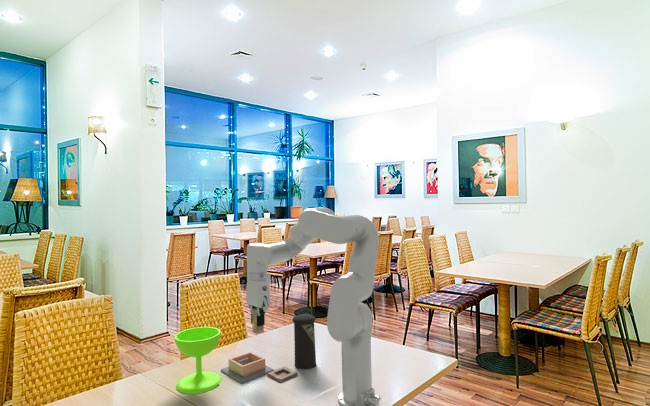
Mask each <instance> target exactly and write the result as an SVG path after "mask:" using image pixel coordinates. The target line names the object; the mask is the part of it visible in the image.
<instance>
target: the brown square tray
mask: <svg viewBox="0 0 650 406" xmlns="http://www.w3.org/2000/svg"><path fill="white" fill-rule="evenodd" d="M266 375H267V377H269V378H270V379H272V380H275V381H277V382H278V383H283V382H285V381H287V380H289V379H293V378H295V377H297V376H298V372H297V371H295V370H293V369H291V368H289V367H286V366H285V365H284V366H282V367H279V368H277V369H274V371H271V372H269V373H267V374H266Z"/></svg>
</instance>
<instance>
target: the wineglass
mask: <svg viewBox="0 0 650 406" xmlns="http://www.w3.org/2000/svg"><path fill="white" fill-rule="evenodd" d="M221 332H222V331H221V329H220V328H218V327H215V326H197V327H191V328H188V329H184V330H182V331H180V332H177V333H176V334H175V335H174V343H175V345H176V347H177V349H178V351H179V352H181V353H182V354H183V355H185V356H187V357H189V358H195V368H196V369H195V370H196V372H194V373H191V374H188V375H186V376H184V377H182V378H181V379H180V380H178V382H177V383H176V386H175V389H176V391H177V392H178V393H181V392H182V393H181V394H185V393H186V394H187V395H196V394H202V393H206V392H209V391H212V390H214V389H216V388H218V387H219V386H220V384H221V382H222V376H221V375H219V374H218V373H216V372H212V371H202V370H203V368H202V366H203V365H202V364H203V363H202V357H204V356H207V355H208V354H210V353H211V352H212V351H213V350H215V348H216V347H217V345H218V344H219V342H220V339H221Z"/></svg>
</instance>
